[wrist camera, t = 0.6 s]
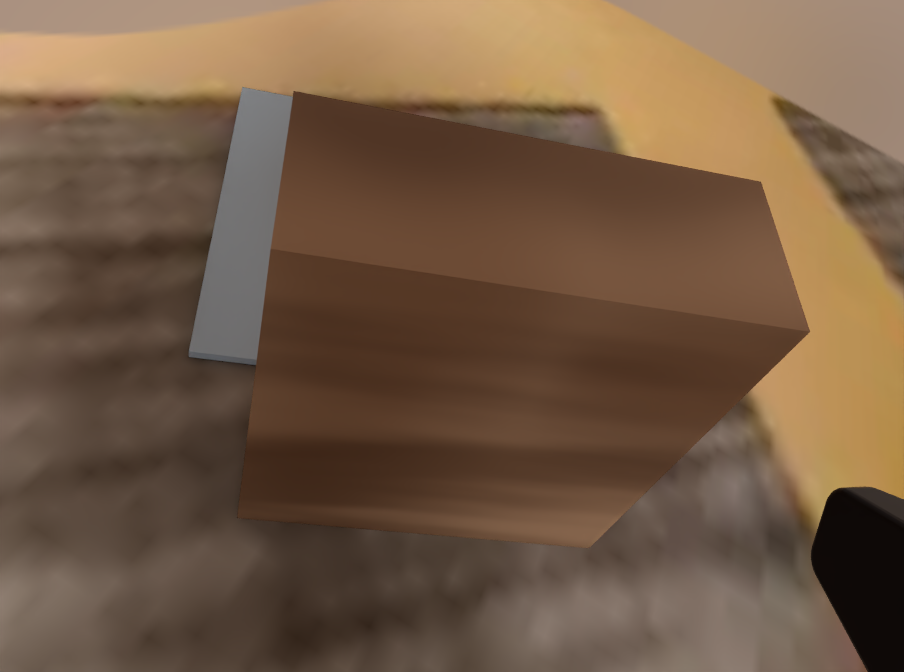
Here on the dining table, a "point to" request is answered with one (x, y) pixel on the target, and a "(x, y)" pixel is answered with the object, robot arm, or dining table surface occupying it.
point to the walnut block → (497, 327)
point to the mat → (243, 232)
